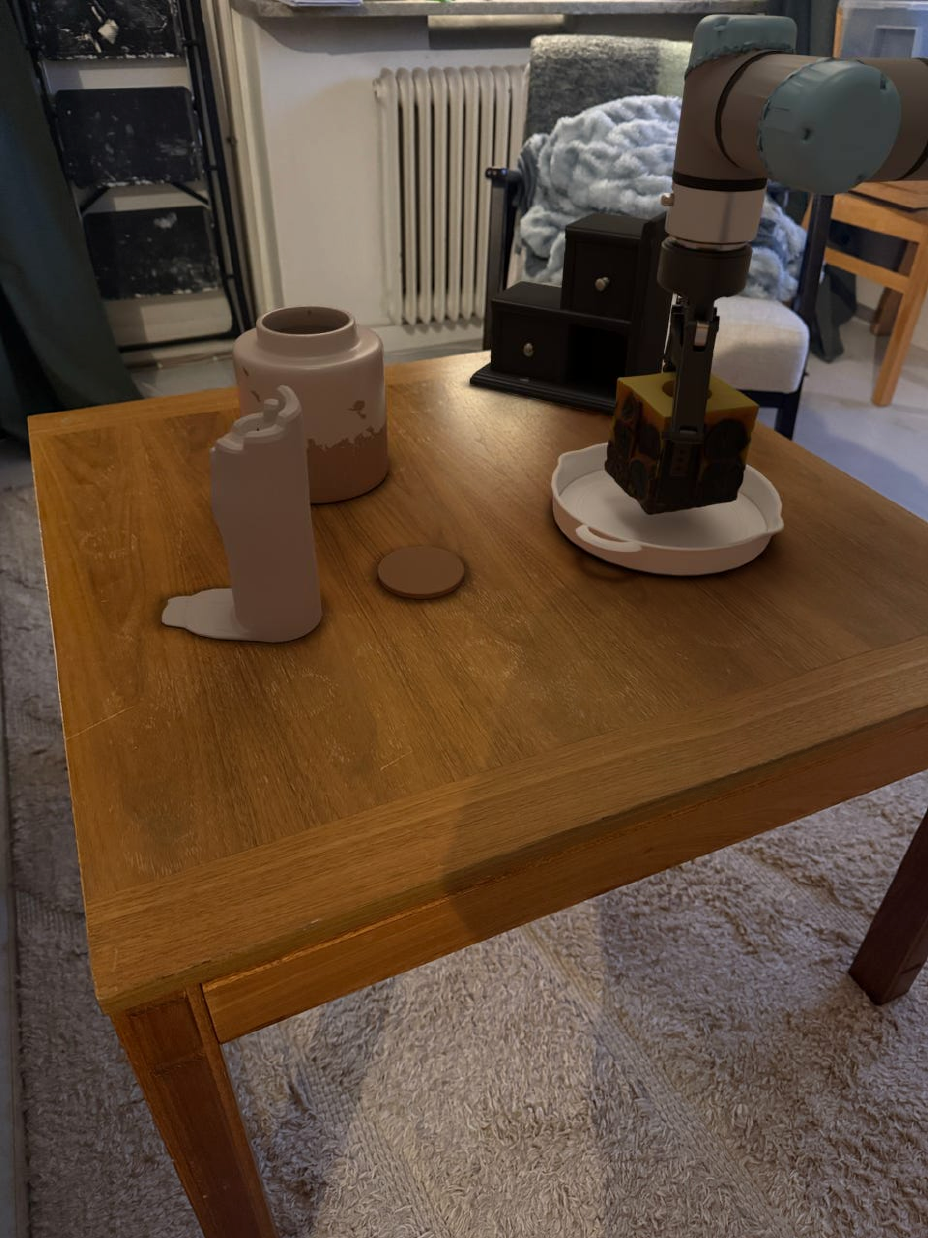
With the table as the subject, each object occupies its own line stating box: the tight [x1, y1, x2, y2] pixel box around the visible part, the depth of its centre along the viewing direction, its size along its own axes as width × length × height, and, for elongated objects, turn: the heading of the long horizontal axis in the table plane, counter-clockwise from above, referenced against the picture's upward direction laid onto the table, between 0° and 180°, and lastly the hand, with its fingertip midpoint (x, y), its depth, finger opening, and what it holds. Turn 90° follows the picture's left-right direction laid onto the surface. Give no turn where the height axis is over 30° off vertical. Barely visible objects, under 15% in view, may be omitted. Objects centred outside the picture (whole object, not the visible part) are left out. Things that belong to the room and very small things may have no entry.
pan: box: [550, 441, 785, 577], centre depth 87 cm, size 24×27×4 cm
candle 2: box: [161, 385, 323, 643], centre depth 68 cm, size 7×14×20 cm, turn 86°
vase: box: [231, 304, 389, 504], centre depth 91 cm, size 15×15×17 cm
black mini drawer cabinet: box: [468, 210, 674, 418], centre depth 109 cm, size 23×11×24 cm, turn 60°
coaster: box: [377, 545, 465, 600], centre depth 80 cm, size 8×8×1 cm
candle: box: [604, 372, 760, 515], centre depth 83 cm, size 10×10×10 cm
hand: (667, 469), depth 85 cm, fingers open, 13 cm apart
